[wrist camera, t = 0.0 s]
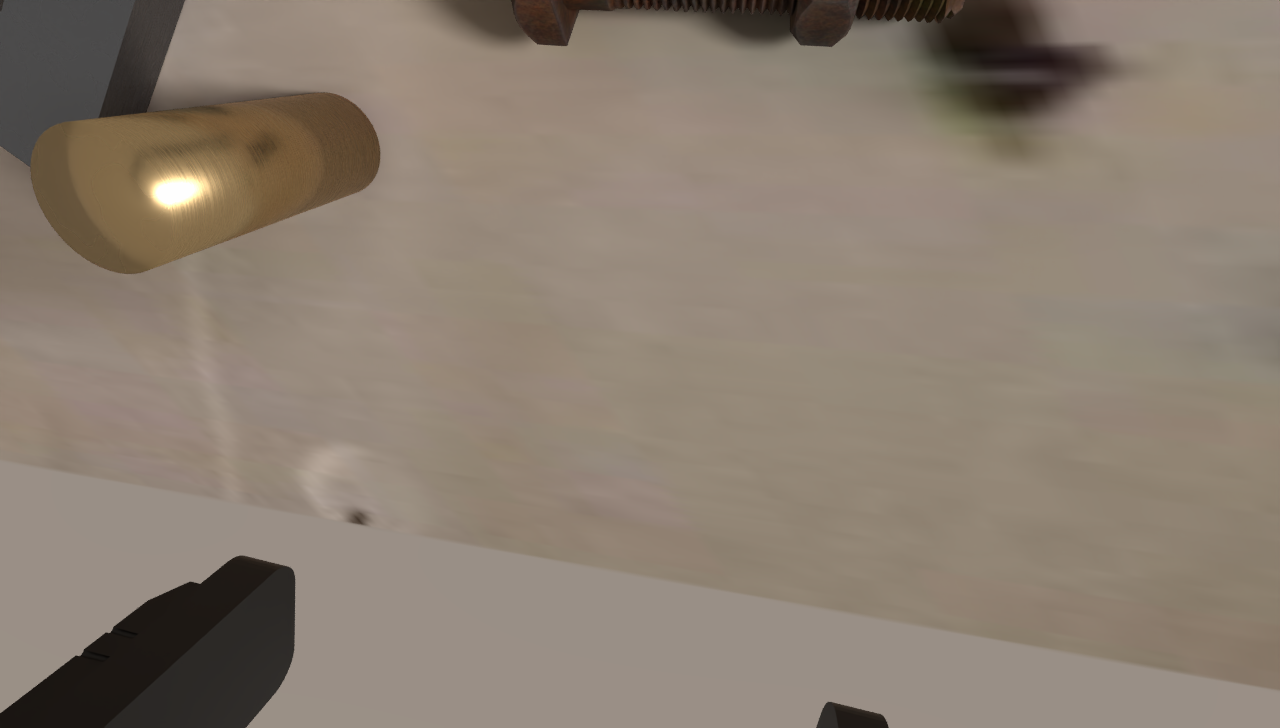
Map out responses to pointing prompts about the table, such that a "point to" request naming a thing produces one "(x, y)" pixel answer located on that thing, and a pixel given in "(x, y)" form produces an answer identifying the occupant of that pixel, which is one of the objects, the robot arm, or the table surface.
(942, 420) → the table surface
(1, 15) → the plate
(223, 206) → the tan mottled cylinder
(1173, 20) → the table surface
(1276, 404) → the table surface
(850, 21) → the bolt
